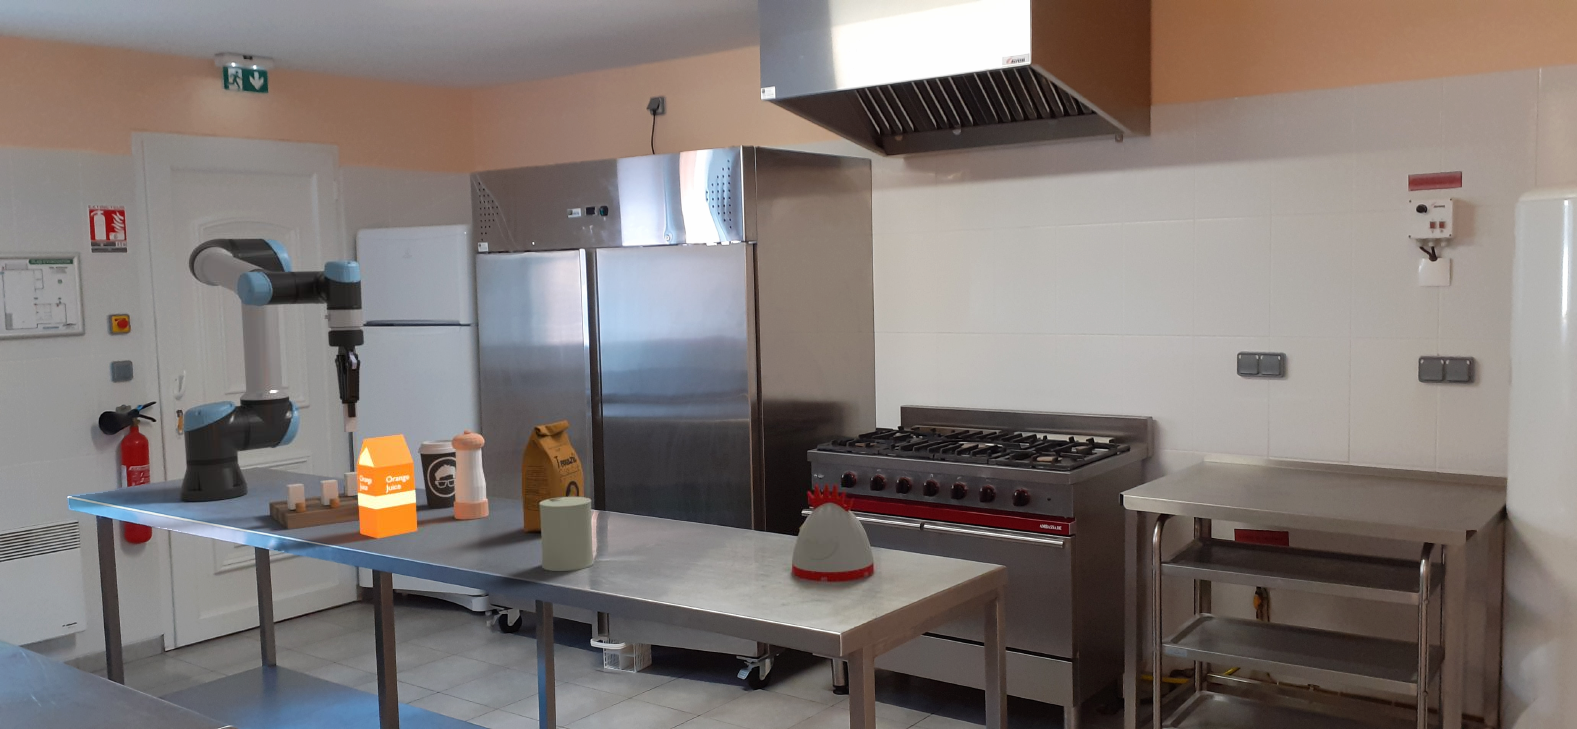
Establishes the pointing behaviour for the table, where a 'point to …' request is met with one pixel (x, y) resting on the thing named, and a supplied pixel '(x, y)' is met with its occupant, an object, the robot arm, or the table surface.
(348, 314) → the robot arm
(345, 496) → the switch unit
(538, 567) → the table surface
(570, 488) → the coffee package
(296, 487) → the switch
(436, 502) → the coffee cup
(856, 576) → the kitchen timer
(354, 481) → the switch
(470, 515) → the pepper shaker
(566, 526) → the can
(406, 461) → the orange juice
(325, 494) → the switch
